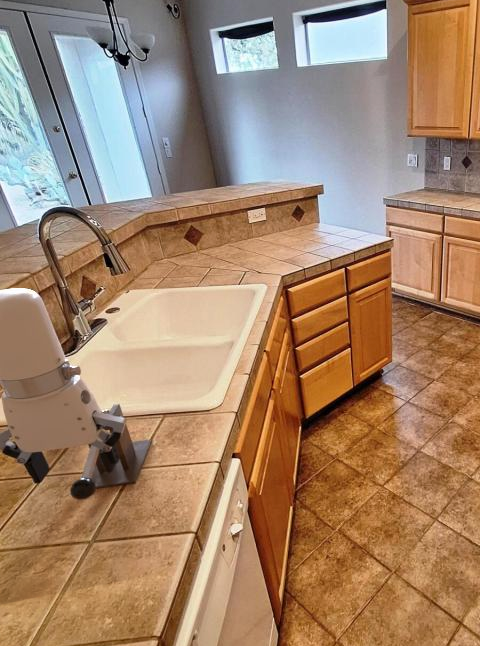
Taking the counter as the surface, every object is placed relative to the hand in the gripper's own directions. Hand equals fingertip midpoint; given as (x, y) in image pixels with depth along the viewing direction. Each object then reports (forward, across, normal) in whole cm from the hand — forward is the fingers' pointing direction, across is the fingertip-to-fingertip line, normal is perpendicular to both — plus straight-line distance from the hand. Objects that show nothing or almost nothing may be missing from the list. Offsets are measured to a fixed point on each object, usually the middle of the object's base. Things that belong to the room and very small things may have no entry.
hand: (78, 471), depth 67 cm
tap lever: (+3, 0, -7) cm, 7 cm away
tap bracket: (+10, 0, -12) cm, 16 cm away
